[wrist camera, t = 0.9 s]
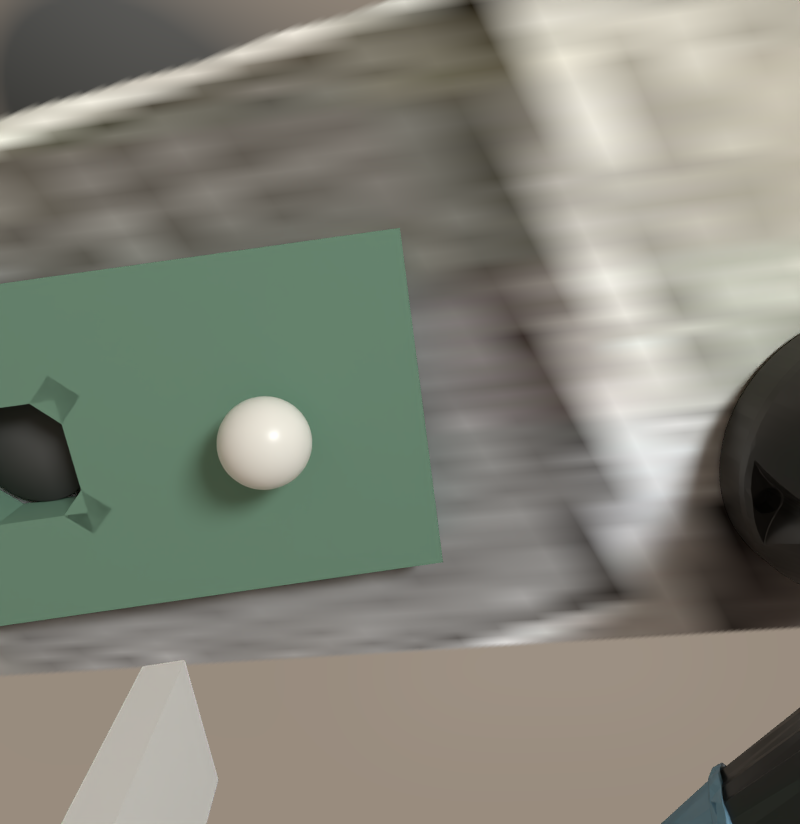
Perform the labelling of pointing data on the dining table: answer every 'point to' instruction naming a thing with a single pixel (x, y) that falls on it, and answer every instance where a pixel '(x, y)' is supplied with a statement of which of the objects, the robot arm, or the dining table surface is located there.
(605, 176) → the dining table surface
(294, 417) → the golf ball
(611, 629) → the dining table surface
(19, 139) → the dining table surface
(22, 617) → the putting mat
